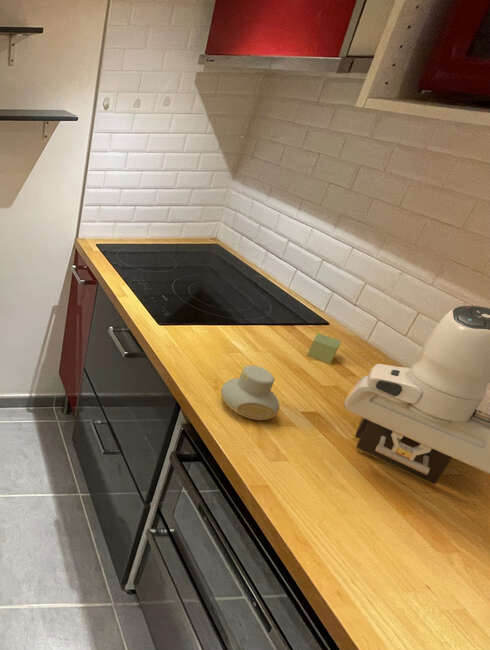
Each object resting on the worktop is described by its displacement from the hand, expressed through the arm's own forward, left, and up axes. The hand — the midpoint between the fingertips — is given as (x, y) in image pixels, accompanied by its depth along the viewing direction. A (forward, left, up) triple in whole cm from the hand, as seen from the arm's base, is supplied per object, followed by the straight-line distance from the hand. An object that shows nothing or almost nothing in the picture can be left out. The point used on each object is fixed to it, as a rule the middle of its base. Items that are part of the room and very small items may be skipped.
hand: (401, 454), depth 81 cm
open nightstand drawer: (-4, -7, -6) cm, 10 cm away
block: (-2, -41, -7) cm, 42 cm away
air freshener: (+21, -11, -7) cm, 25 cm away
